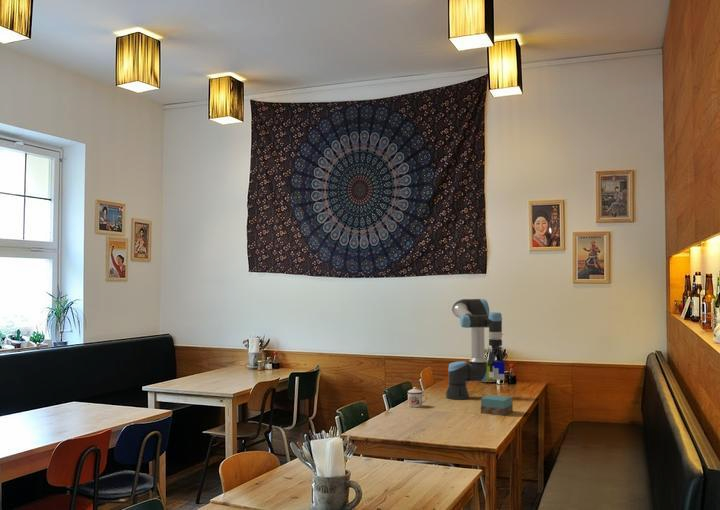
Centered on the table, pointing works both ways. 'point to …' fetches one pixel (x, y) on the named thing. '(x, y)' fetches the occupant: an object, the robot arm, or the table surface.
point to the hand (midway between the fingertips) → (495, 376)
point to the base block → (496, 410)
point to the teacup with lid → (415, 397)
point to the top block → (497, 401)
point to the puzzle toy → (497, 370)
